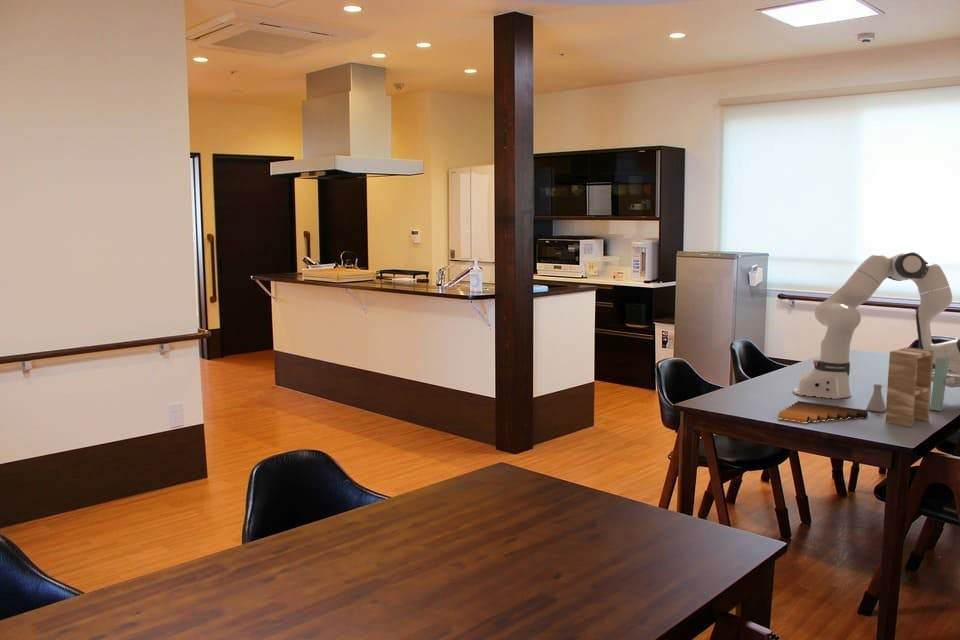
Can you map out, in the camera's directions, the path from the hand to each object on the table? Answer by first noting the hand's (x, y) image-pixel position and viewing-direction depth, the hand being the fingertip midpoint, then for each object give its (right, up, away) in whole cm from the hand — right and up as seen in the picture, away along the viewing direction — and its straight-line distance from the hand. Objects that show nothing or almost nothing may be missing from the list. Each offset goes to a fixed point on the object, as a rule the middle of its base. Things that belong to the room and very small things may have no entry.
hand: (938, 380), depth 304 cm
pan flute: (-49, -14, -10) cm, 52 cm away
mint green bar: (+2, -2, +2) cm, 3 cm away
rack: (-20, -14, -15) cm, 29 cm away
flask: (-23, -12, +2) cm, 26 cm away
